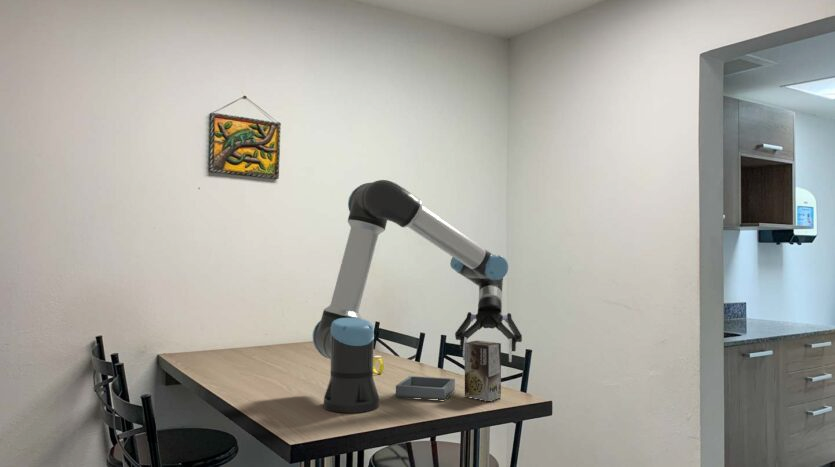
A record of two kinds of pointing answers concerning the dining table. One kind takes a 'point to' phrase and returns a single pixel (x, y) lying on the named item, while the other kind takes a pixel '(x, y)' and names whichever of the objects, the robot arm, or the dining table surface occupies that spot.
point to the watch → (380, 364)
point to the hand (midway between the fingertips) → (487, 358)
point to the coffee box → (483, 370)
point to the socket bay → (425, 388)
